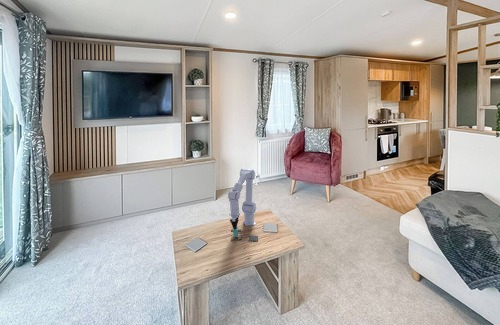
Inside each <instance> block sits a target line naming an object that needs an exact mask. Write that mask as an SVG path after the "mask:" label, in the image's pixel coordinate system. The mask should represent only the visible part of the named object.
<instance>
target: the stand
mask: <svg viewBox="0 0 500 325" xmlns="http://www.w3.org/2000/svg"><path fill="white" fill-rule="evenodd" d="M238 232H239V233H242V229H239V228H238ZM230 233H233V228H231V229H230ZM230 241H242V235H241V234H240V235H239V234H238V237H233V235H231V236H230Z"/></svg>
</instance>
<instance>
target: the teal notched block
mask: <svg viewBox="0 0 500 325" xmlns="http://www.w3.org/2000/svg"><path fill="white" fill-rule="evenodd" d="M232 229H233V228H232ZM238 229H239V226H238V225H237V229H233V232H232V234H233V237H238V235H239V233H240V232H238Z"/></svg>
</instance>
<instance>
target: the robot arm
mask: <svg viewBox="0 0 500 325" xmlns="http://www.w3.org/2000/svg"><path fill="white" fill-rule="evenodd" d="M255 176H256V172H255V170H254V169H250V168H241V169H240V170H239V179H238V181H237V182H236V183H235V184H234V186H233V187H232V189H231V190H230V191H229V192H228V194H227V195H228V196H227V198H228V201H229V205H230V206H229V207H230V213H228V216H230V217H231V218H230V219H229V223H230V224H231V226H232V229H237V226H238V223H239V217H240V215H241V214H240V213H241V212H240V205H239V203H240V202H239V200H240V197H241V192H242V190H243V187H244V186H243V185H244V183H245V200H244V201H243V202H242V207H241V211H242V212H243V215H244V216H243V220H242V222H243V223H244V225H245V227H247V226H255V225H256V222H255V215H254V214H255V213H256V211H257V206H256V202H255V201H253V182H254V180H255ZM245 181H246V182H245Z"/></svg>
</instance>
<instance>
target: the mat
mask: <svg viewBox="0 0 500 325" xmlns="http://www.w3.org/2000/svg"><path fill="white" fill-rule="evenodd" d="M248 242H259V235H249V236H248Z"/></svg>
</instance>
